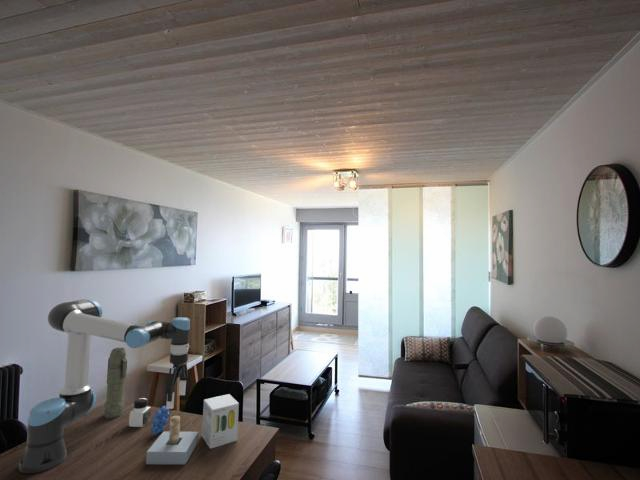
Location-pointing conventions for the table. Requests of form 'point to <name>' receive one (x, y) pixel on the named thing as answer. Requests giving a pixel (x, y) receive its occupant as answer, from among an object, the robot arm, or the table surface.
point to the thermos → (115, 383)
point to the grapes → (160, 420)
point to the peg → (174, 430)
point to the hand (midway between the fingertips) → (176, 401)
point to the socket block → (172, 449)
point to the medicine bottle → (140, 413)
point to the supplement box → (220, 420)
